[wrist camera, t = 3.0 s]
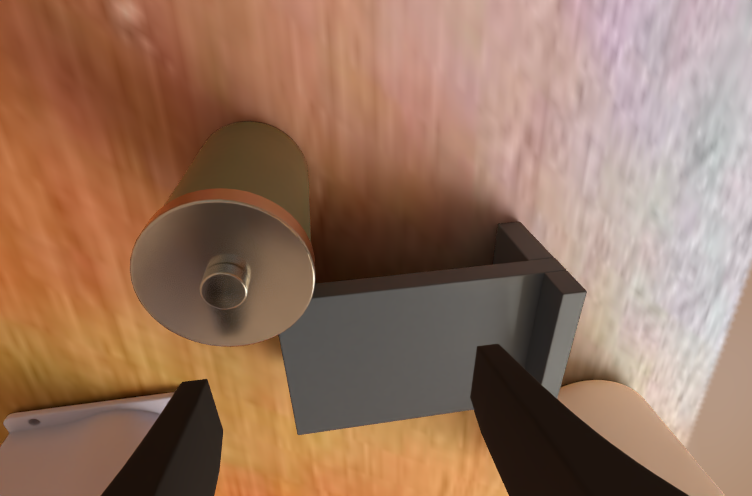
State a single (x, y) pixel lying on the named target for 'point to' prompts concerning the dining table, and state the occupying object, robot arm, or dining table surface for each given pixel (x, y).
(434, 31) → the dining table surface
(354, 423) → the grey channel-top block
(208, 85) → the dining table surface
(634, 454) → the cup
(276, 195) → the canister
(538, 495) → the robot arm
